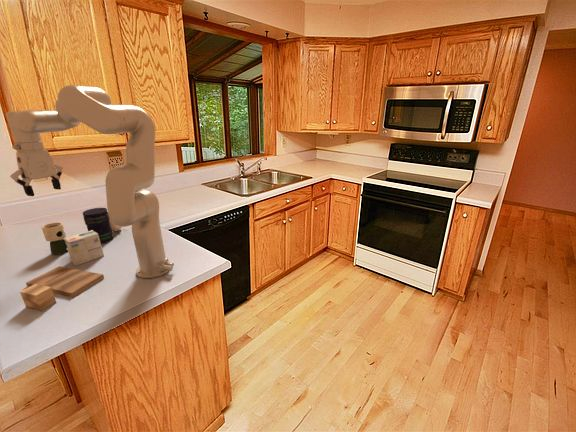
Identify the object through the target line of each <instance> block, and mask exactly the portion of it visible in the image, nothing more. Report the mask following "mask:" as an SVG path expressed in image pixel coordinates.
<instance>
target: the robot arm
mask: <svg viewBox="0 0 576 432" xmlns="http://www.w3.org/2000/svg"><path fill="white" fill-rule="evenodd" d="M57 94H58V95H57V100H56V102H55V104H54V105H55V109H38V110H37V109H34V110H33V109H31V110H30V109H29V110H14V111H13V110H12V111H7V112H6V113H5V116H6V120H7V122H8V126H9V128H10V129H9V130H10V132H11V135H12V138H13V141H14V145H11V146H12V150H16V155H15V156H16V162H17V163H16V164H17V168H18V169H17V170H16V171H14V172H13V173H12V174H10V178H11V179H12V180H13V181H14V182H15V183H17V184H19V185H20V186H22V187H23V191H24V194H26V196H28V197H35V191H34V190H33V186H32V185H30V184H31V182H32V180H33V181H34V180H41V179H45V178H51V184H52V186H53V190H61V189H62V187H61V186H62V185H61V181H60V179H61V176H62V174H63V173H62V172H63V168H64V167H63V166H61V165H57V164H55V162H54V159H53V158H52V156H51V154H50V153H49V151H48V149H45V146H44V144H43V140H42V137H41V134H46V133H59V132H63V131H64V132H65V131H68V130H71V129H73V128H76V127H78V126H79V125H80V124H81V123H82V124H84V125H86V126H87V127H89V128H90V129H92V130H94V131H95V132H97V133H100V134H103V135H118V134H127V133H129V135H130V136H129V137H128V139H127V142H126V146H125V162H124V164H119V165H117V166H114V167H112V168H110V170H108V172H107V174H106V176H105V194H106V209H107V212H108V214H109V217H110V219H111V220H112V222H113V223H114V224H116V225H117V226H121V227H122V228H124V227H125V228H126V227H129V226H131V233H132V238H133V242H134V243H133V244H134V248H135V251H136V256H137V257H136V258H137V261H138V267H137V268H136V269H135V273H136V276H137V277H139V278H141V279H154V278H157V277H161V276H163V275H165V274H167V273H168V272H171V271H173V268H174V266H175V263H174V262H171V261H170V260H169V258H168V257H166V252H165V245H164V240H163V236H162V229H161V222H160V202H159V199H158V197H157V195H156V194H155V193H154V192H152V191H151V190H148V189H147V188H150V187H151V186H152V185H153V184H154V182H155V171H156V170H155V169H156V168H155V160H156V159H155V145H156V144H155V143H156V128H155V123H154V120H153V119H152V117H151V116H150V115H149V113H148V112H147V111H146V110H144V109H142V108H141V107H138V106H135V105H131V104H112V99H111V97H110V96H109V94H108V93H107V92H106V91H104V90H103V89H102V88H99V87H96V86H91V85H90V86H89V85H86V86H85V85H77V84H76V85H75V84H70V85H68V84H67V85H65V86H63V87H61V89H59V92H58V93H57ZM19 177H21V178H22V179H20V178H19ZM146 189H147V190H146Z"/></svg>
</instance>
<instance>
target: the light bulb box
mask: <svg viewBox="0 0 576 432" xmlns="http://www.w3.org/2000/svg"><path fill="white" fill-rule="evenodd" d="M63 239H64V240H65V242H66V245H67V252H68V254H69V257H70V260H71V262H72V263H73V264H74V266H78V265H83V264H84V263H88V262H90V261H93V260H97V259H99V258H102V257H105V255H104V250H103V247H102V244H101V243H100V239H99V236H98V233H96V232H95V231H93V230H91V231H88V230H87V231H85V232H81V233H78V234H74V235H71V236H66V237H65V238H63Z"/></svg>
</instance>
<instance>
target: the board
mask: <svg viewBox="0 0 576 432" xmlns="http://www.w3.org/2000/svg"><path fill="white" fill-rule="evenodd" d="M104 279H105V276H104V274H102V273H98V272H92V271H88V270H87V271H86V270H82V269H77V268H72V267H66V266H62V265H61V266H60V265H59V266H57V267H55V268H52V269H51V270H49V271H47V272H45V273H42V274H41V275H39V276H37V277H34V278H33V279H30V280H28V281H27V282H25V284H26V287H27V288H28V287H30V286H32V285H34V284H39V285H43V286H48V287H51V288H52V291H53V294H59V295H62V296H67V297H72V298H75V297H76V296H78V295H79V294H81V293H82V292H84V291H86V290H87V289H89V288H91V287H93V285H96V284H98V283H99V282H101V281H102V280H104Z"/></svg>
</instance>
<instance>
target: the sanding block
mask: <svg viewBox="0 0 576 432" xmlns="http://www.w3.org/2000/svg"><path fill="white" fill-rule="evenodd" d="M19 293H20V296H21V298H22V300H23V303H24V305H25V308H28V309H30V310H35V311H38V312H43V311H45V310H47V309H48V308H50V307H52V306H54V305H56V304H57V299H56V297H55V293H53V291H52V288H51V287H48V286H43V285H39V284H34V285H32V286H30V287H27V288H25V289H23V290H21V291H19Z"/></svg>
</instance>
